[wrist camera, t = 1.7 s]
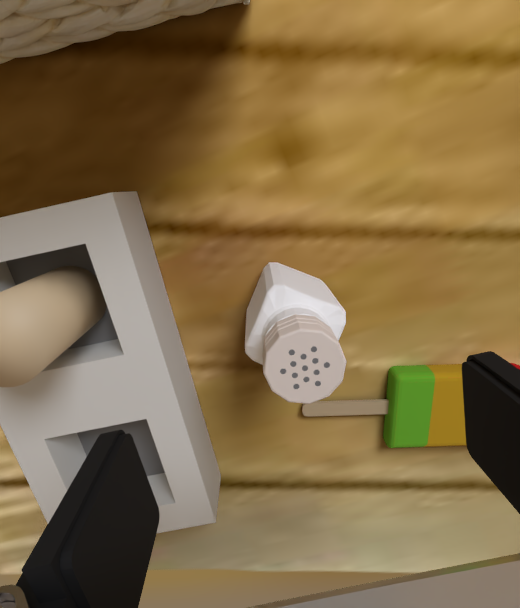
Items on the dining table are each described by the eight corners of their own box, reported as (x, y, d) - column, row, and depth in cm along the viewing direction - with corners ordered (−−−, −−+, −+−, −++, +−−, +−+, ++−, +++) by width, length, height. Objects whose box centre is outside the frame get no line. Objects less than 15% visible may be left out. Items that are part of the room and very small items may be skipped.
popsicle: (510, 429, 27) (528, 446, 26) (300, 436, 27) (303, 454, 25) (524, 358, 26) (544, 371, 24) (300, 365, 26) (304, 379, 24)
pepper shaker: (301, 337, 25) (330, 426, 15) (243, 315, 24) (237, 394, 15) (327, 280, 23) (375, 340, 14) (267, 256, 23) (276, 303, 14)
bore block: (136, 191, 22) (72, 193, 14) (221, 475, 28) (208, 589, 20) (-31, 228, 22) (-183, 251, 14) (87, 501, 28) (24, 621, 20)
